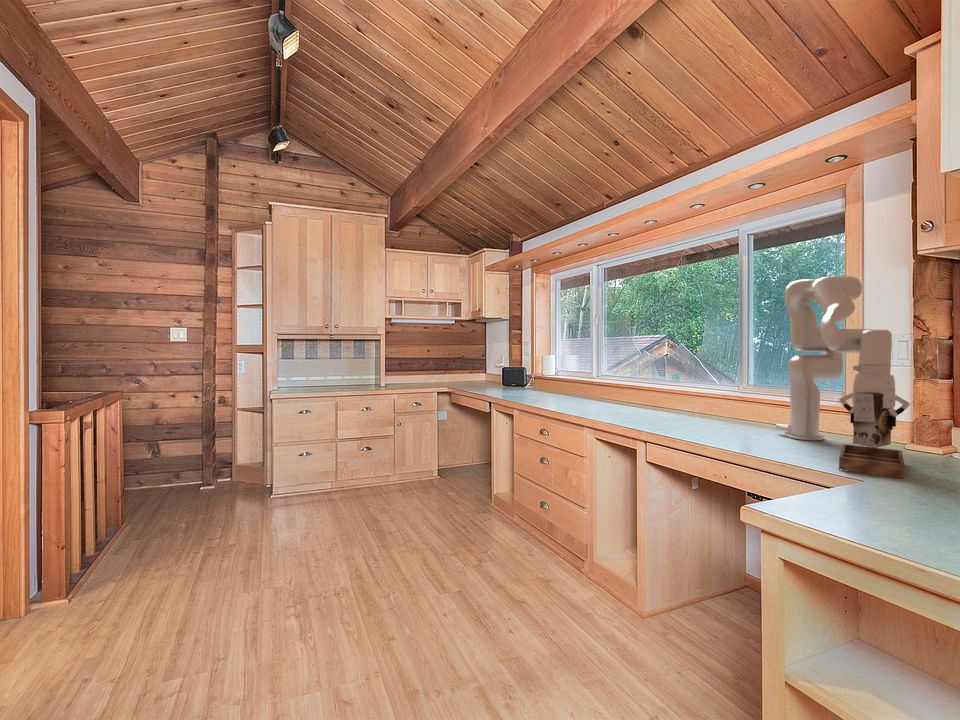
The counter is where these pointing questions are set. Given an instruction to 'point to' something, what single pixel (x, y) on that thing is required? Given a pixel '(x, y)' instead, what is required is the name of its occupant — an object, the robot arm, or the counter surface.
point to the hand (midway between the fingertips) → (872, 427)
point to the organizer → (872, 461)
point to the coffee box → (871, 421)
